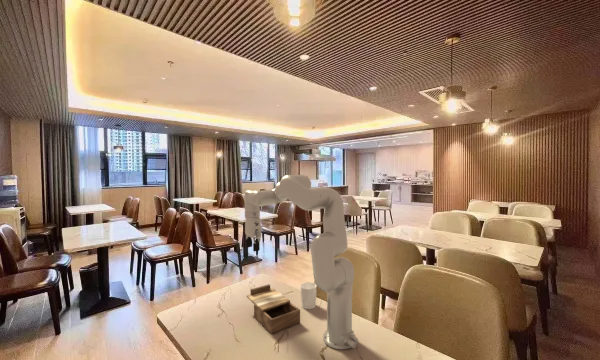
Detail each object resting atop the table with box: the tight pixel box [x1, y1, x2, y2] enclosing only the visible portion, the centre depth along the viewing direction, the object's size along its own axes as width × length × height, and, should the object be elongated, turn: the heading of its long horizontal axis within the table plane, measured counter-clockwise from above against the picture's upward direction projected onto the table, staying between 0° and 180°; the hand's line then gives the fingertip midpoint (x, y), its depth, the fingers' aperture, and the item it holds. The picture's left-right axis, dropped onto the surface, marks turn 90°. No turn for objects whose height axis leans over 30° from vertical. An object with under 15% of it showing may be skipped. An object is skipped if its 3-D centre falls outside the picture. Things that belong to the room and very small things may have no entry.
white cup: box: [299, 281, 318, 310], centre depth 131 cm, size 8×8×10 cm
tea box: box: [253, 301, 301, 336], centre depth 118 cm, size 16×14×6 cm
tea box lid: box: [246, 284, 291, 311], centre depth 125 cm, size 16×14×3 cm
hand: (252, 248), depth 137 cm, fingers open, 7 cm apart
